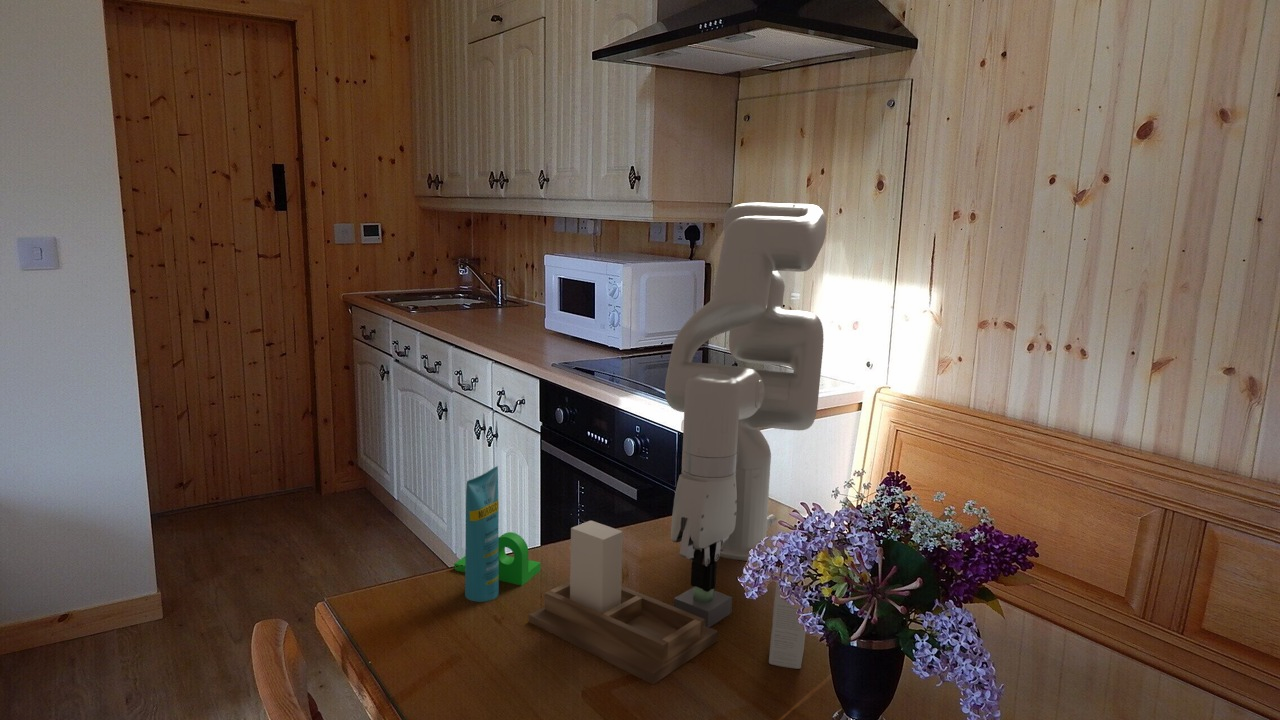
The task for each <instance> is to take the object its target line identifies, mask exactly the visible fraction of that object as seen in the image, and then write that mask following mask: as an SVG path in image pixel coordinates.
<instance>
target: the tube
mask: <svg viewBox="0 0 1280 720" xmlns="http://www.w3.org/2000/svg"><path fill="white" fill-rule="evenodd" d="M465 487H466V489H465V555H464V557H465V572H464V575H465V577H464V580H465V581H464V582H465V583H464V597H465V598H466V599H467V600H468V601H473V602H477V603H478V602H479V603H485V602H490V601H492V600H495V599H496V598H498V597H499V595H500V594H499V592H500V589H499V588H500V586H499V585H500V584H499V582H500V580H499V560H498V538H499V522H500V521H499V511H500V510H499V508H500V507H499V504H500V503H499V466H496V465H495V466H494V467H493V468H490V469H489V470H487V472H484V473H482V474H481V475H478V476H476V477H474V478H471V479H468V480H467V481H466V486H465Z"/></svg>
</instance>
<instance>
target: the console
mask: <svg viewBox="0 0 1280 720" xmlns="http://www.w3.org/2000/svg"><path fill="white" fill-rule="evenodd" d="M673 607H676V608H678V609H681V610H683V611H686V612H688V613H691V614H693V615H696V616H698V617H701V618H703V619H705V626H707V627H709V628H712V626H714V625H715V624H717V623H718V622H720V621H722V620H724V618H727V617H728V616H729V615H731V614H732V612H733V608H732V607H733V597H732V596H730V595H727V594H725V593H724V592H723V593H722V592H719V591H717V590H715V589H713V600H712V601H710V602H699V601H697V600H695V599H694V587H693V586H692V587H691V588H690V589H687V590H686V591H684V592H683V593H681V594H679V595H676V596H675V597H674V598H673Z"/></svg>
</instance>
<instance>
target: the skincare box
mask: <svg viewBox="0 0 1280 720" xmlns="http://www.w3.org/2000/svg"><path fill="white" fill-rule="evenodd" d="M775 584H776V585H775V592H774V599H773V610H772V611H773V612H772V623H771V633H770V634H771V635H770V643H769V644H770V645H769V653H768V663H769V664H770V665H773V666H777V667H783V668H788V669H795V670H796V669H798V670H800V669H801V668H802V664H803V663H802V662H803V656H804V650H805V649H804V648H805V641H806V632H804V630H803V628H802V626H801V625H800V624H799V622H798V620H797V617H796V612H797V607H795V606H792V605H790V604H787V603H786V602H784V601H783V600H782V599H781V597H780V592H779V586H778V583H777V582H775Z"/></svg>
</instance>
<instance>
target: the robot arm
mask: <svg viewBox="0 0 1280 720" xmlns="http://www.w3.org/2000/svg"><path fill="white" fill-rule="evenodd" d="M722 229H723V239H722V244H721V249H720V254H719V259H718V265H717V270H716V275H715V280H714V286H713V292H712V297H711V299H710V300H709V302H707V303H706V304H705V305H703V306H702V307H701V308H700V309H698V310H697V311H696V312H695V313H694V314H692V316H691V317H690V318H688V320H687V321H686V322H685V323H684V325H683V326H682V327H681V329H680V330H679V331H678V333H677V335H676V337H675V339H674V342H673V344H672V348H671V352H670V357H669V362H668V367H667V371H666V376H665V384H664V385H665V387H664V393H665V394H664V395H665V396H664V397H665V400H666V402H667V404H668V406H669V407H671V409H673V410H675V411H677V412H680V413H683V433H682V437H683V438H682V454H681V473H680V474H679V475H678V476H679V477H678V480H677V483H676V487H675V493H674V497H673V507H672V516H671V529H670V539H671V541H672V542H673V543H680V548H679V552H678V553H679V554H678V555H679V557H681V558H684V559H689V561H691V572H690V573H691V574H690V586H692V588H693V587H695V586H696V587H698V588H701V589H703V590H704V591H707V592H708V591H710V590H711V589H713V590H715V588H716V587H717V586H716V582H717V564H718V562H717V561H719V559H720V557H721V558H724V559H730V560H740V561H744V562H748V561H747V559H748V554H749V551H750V550H751V549H752V548H753V547H754V546H755V545H756V544H757V543H758V542H759V541H760V540H762V539H763V538H765V537H770V536H769V535H768V533H767V532H768V529H769V528H770V527H771V526H773V525H775V524H777V517H776V515H775V514H772V513H771V514H768V512H769V510H768V509H769V495H770V494H769V492H770V478H771V477H770V476H771V475H770V474H771V462H772V452H771V448H770V445H769V443H768V440H767V438H766V437H765V435H764V434H763V433H762V431H761V430H760V428H767V429H775V430H776V429H778V430H787V431H806V430H808V429H810V428H811V427H812V426H813V425H814V422H815V420H816V417H817V412H818V405H819V404H818V403H819V397H820V395H819V394H820V385H821V384H820V383H821V373H822V372H821V371H822V363H823V361H822V360H823V352H824V340H825V339H824V328H823V323H822V321H821V319H820V318H819V317H818V315H817V314H814V313H813V312H810V311H807V310H806V311H805V310H795V309H793V310H792V309H784V308H783V305H784V295H785V286H786V285H785V280H784V278H783V276H782V275H781V274H780V272H781V271H782V272H798V273H799V272H807V271H808V270H810V269H811V268H812V267H813V266H814V264H815V262H816V260H817V259H818V256H819V254H820V252H821V250H822V247H823V245H824V243H825V238H826V234H827V233H826V232H827V219H826V215H825V213H824V211H823V209H822V208H820V206H818V205H816V204H809V203H777V202H775V203H774V202H743V203H740V204H734V205H733V206H731V207H730V208H728V209H727V210H726V211H725V213H724V216H723V224H722ZM779 271H780V272H779ZM727 332H729V333H728V347H729V349H728V350H729V352H730V354H731V356H732V357H733V359H734V358H735V359H736V360H737V361H738V360H739V361H741V362H745V363H751V364H760V365H761V364H762V365H772V366H774V365H775V366H785V367H790V368H791V370H793V372H785V371H775V370H769V369H768V370H766V369H755V368H749V367H745V366H737V365H725V364H716V363H705V362H693V359H694V356H695V354H696V353H697V351H698V350H699V348H700V347H702V345H703V344H705V343H706V342H708V341H710V340H711V339H712V338H715V337H717V336H719V335H721V334H724V333H727Z"/></svg>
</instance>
